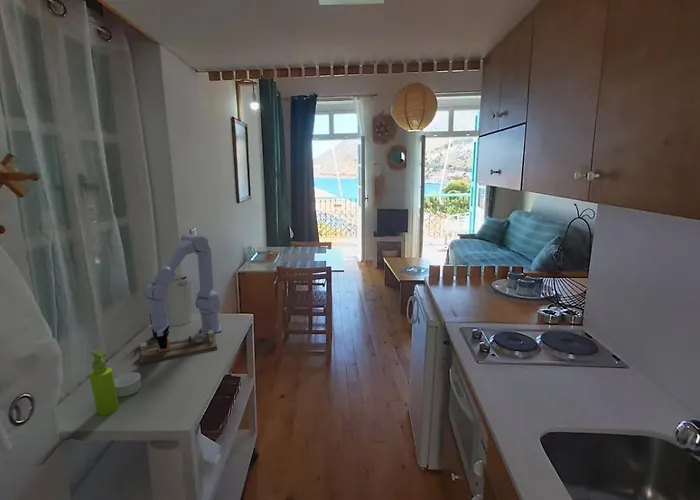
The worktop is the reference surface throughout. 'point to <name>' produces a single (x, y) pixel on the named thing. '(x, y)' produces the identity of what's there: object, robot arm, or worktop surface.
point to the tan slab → (178, 348)
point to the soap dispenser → (103, 385)
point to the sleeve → (165, 348)
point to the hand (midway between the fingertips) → (164, 345)
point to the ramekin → (127, 384)
